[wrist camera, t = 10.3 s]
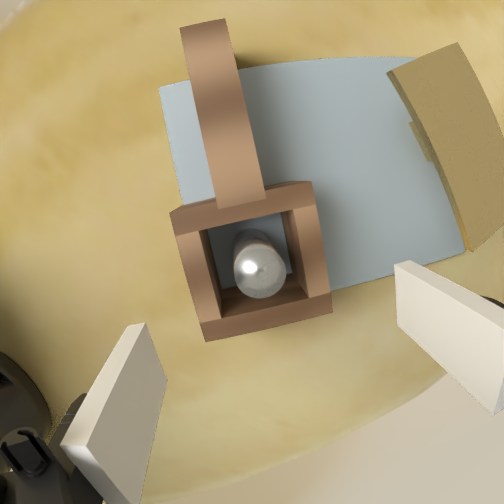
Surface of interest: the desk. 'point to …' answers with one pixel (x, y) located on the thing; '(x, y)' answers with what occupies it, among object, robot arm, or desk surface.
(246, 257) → the cylinder
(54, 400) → the desk surface
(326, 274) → the link
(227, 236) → the board
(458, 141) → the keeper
